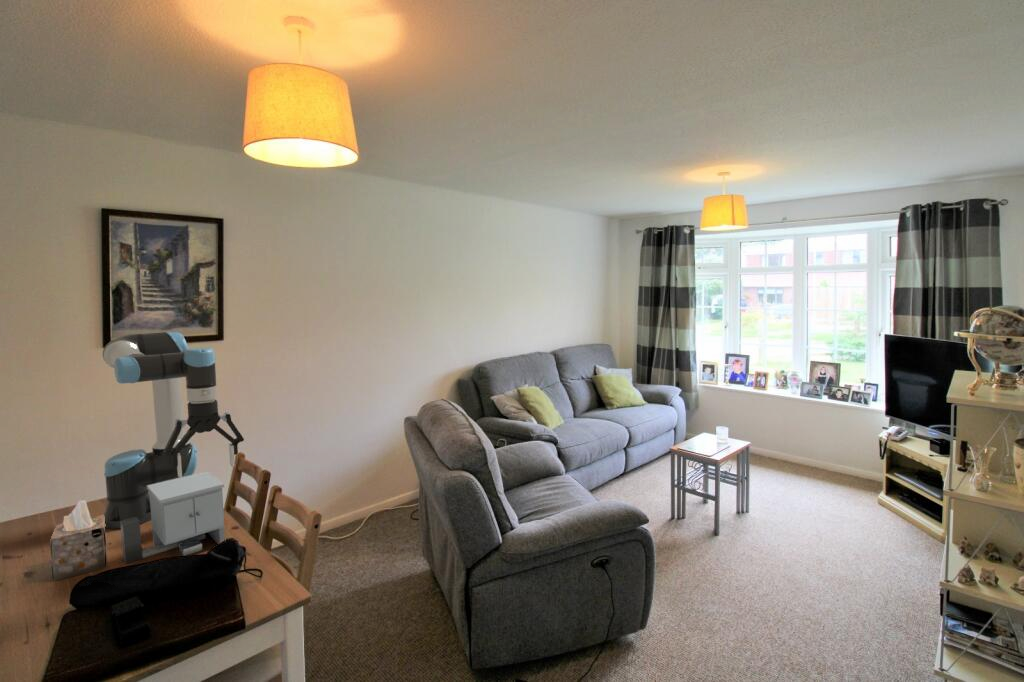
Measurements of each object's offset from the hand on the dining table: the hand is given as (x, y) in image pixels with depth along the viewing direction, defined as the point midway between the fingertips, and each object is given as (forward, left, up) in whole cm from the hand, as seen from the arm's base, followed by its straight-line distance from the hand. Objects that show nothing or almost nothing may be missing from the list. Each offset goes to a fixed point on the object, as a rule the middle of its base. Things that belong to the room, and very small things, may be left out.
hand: (207, 470), depth 152 cm
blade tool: (-15, -8, -27) cm, 32 cm away
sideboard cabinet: (-12, -3, -27) cm, 29 cm away
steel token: (-9, -4, -27) cm, 29 cm away
